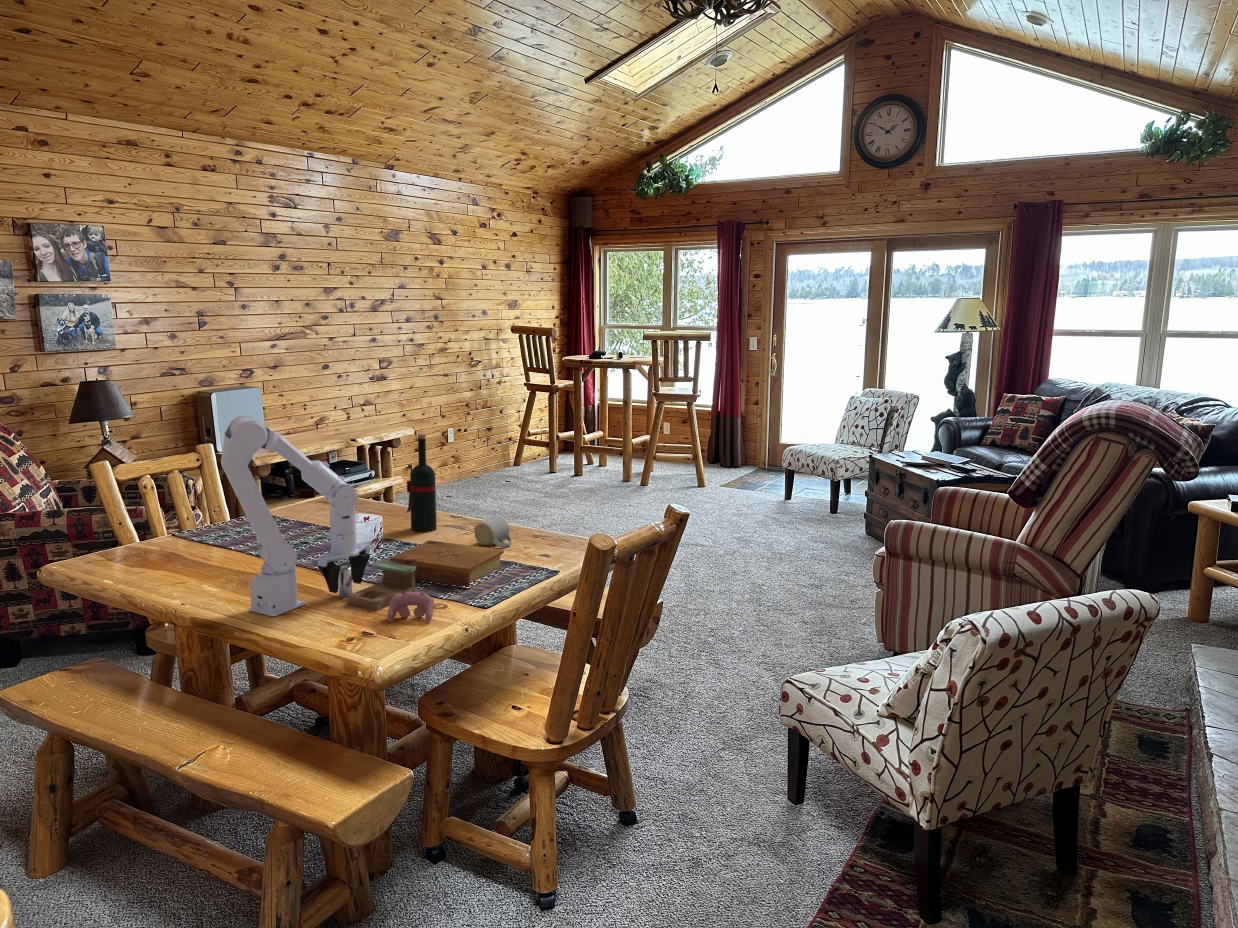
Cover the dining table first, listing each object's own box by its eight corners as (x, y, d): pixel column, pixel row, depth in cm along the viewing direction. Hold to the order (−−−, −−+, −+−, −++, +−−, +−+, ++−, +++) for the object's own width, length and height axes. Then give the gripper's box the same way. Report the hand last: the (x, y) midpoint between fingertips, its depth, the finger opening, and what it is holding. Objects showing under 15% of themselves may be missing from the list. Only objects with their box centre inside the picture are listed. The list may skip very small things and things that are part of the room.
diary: (389, 580, 208) (388, 558, 207) (429, 560, 225) (429, 540, 224) (468, 591, 200) (468, 568, 199) (504, 569, 218) (503, 548, 217)
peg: (345, 598, 192) (344, 570, 191) (336, 596, 193) (335, 568, 192) (355, 594, 195) (354, 566, 194) (345, 592, 196) (344, 564, 195)
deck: (378, 610, 184) (377, 581, 183) (345, 603, 189) (344, 574, 188) (416, 594, 196) (416, 566, 195) (384, 587, 200) (384, 560, 199)
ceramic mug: (472, 544, 239) (472, 519, 238) (489, 538, 246) (490, 513, 245) (500, 550, 234) (501, 525, 233) (518, 544, 241) (518, 519, 240)
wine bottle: (415, 523, 261) (413, 431, 255) (441, 527, 257) (440, 434, 251) (399, 529, 254) (397, 434, 248) (426, 533, 250) (424, 437, 244)
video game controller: (434, 624, 182) (436, 592, 184) (430, 622, 177) (432, 590, 179) (389, 623, 181) (392, 592, 183) (385, 622, 177) (387, 589, 179)
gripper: (332, 542, 183) (335, 599, 186) (378, 527, 196) (379, 581, 198) (309, 537, 186) (312, 594, 189) (356, 523, 199) (358, 576, 201)
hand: (345, 587), depth 194 cm, fingers open, 7 cm apart
